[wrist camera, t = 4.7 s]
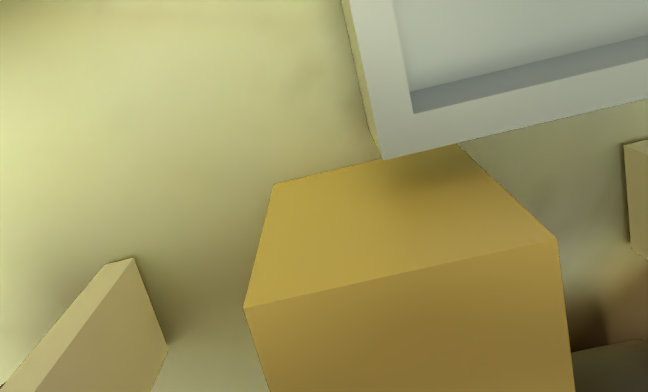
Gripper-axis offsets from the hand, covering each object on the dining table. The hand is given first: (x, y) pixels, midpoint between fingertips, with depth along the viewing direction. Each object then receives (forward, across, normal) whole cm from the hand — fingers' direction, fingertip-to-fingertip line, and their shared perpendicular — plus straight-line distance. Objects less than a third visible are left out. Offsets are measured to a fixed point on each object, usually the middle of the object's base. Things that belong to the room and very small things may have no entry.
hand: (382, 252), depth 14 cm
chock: (0, 0, 0) cm, 0 cm away
